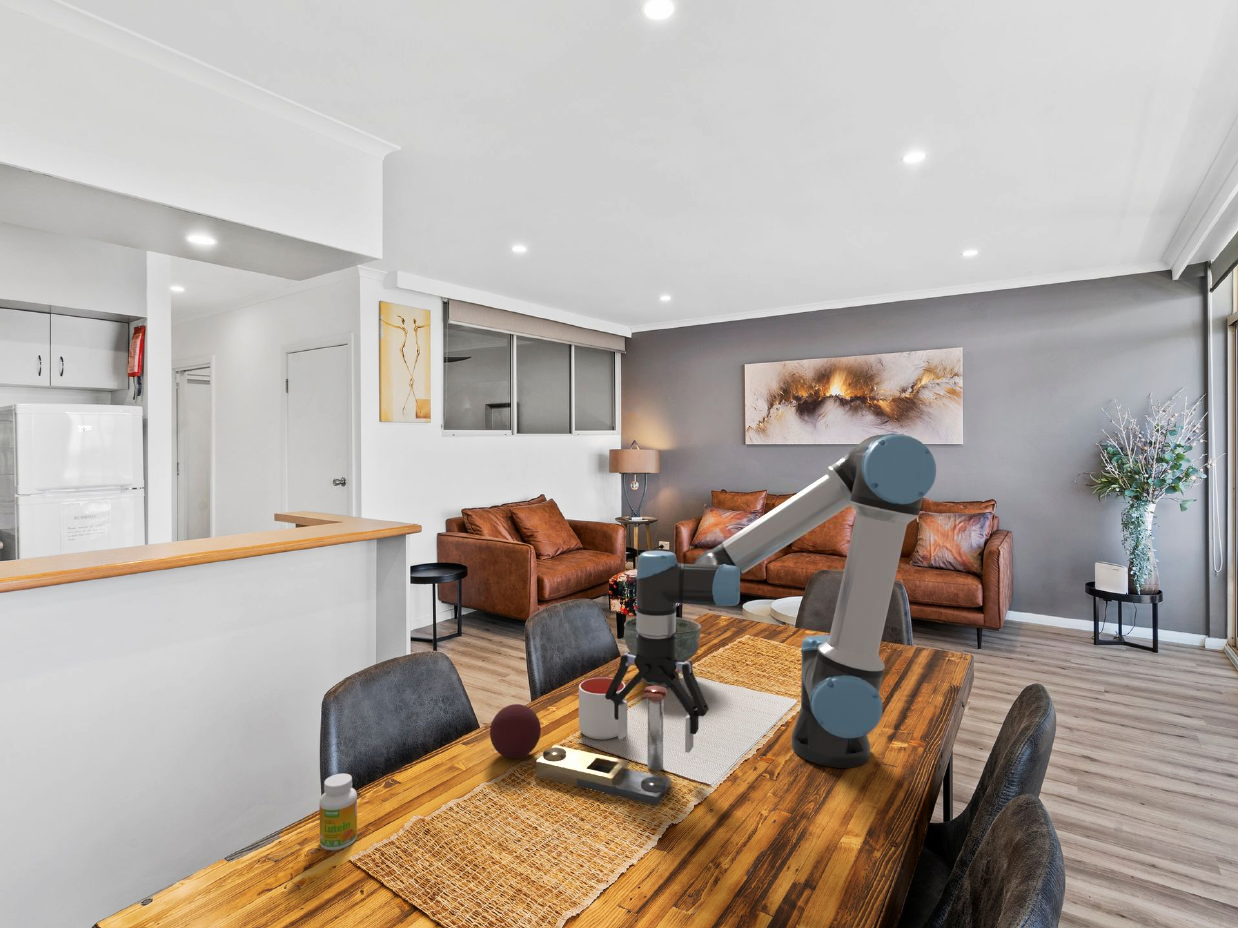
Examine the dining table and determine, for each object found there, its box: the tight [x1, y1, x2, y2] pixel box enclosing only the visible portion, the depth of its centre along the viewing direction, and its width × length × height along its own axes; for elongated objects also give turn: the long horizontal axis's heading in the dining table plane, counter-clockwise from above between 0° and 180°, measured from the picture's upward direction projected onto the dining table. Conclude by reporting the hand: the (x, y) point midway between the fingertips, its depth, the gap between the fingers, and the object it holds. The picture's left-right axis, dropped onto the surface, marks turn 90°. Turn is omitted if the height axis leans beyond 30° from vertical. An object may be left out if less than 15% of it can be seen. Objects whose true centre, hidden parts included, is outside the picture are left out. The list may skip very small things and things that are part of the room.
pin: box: [643, 685, 668, 772], centre depth 126 cm, size 4×4×15 cm
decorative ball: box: [489, 703, 542, 759], centre depth 131 cm, size 10×10×10 cm
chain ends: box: [535, 744, 671, 807], centre depth 121 cm, size 24×7×3 cm, turn 66°
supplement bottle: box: [318, 773, 358, 851], centre depth 103 cm, size 5×5×10 cm
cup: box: [578, 677, 626, 740], centre depth 142 cm, size 10×10×10 cm
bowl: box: [623, 617, 702, 687], centre depth 173 cm, size 20×19×15 cm
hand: (655, 742), depth 126 cm, fingers open, 13 cm apart
